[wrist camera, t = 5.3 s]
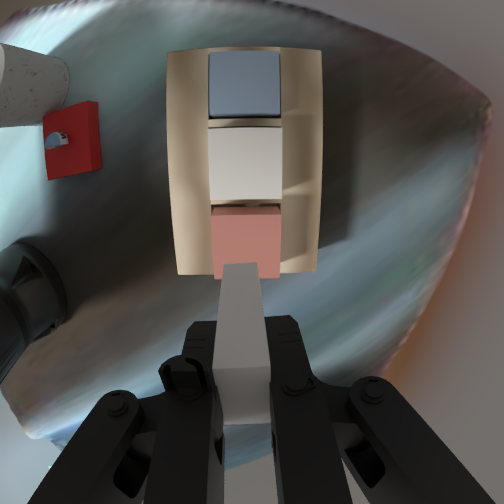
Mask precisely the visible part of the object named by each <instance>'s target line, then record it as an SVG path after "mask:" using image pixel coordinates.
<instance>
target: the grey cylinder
mask: <svg viewBox="0 0 504 504" xmlns="http://www.w3.org/2000/svg"><path fill="white" fill-rule="evenodd" d="M69 82H70V79H69V71H68V67H67V66H66V64H65V62H64V61H62V60H61V59H59V58H56V57H51V56H48V55H44V54H41V53H37V52H34V51H30V50H27V49H23V48H19V47H15V46H11V45H7V44H3V43H0V128H2V127H15V126H39V125H43V116H45V115H47V114H50V113H53V112H55V111H58V110H60V108H61V106H62V105H63V103H64V101H65V98H66V96H67V92H68V89H69Z"/></svg>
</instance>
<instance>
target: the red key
mask: <svg viewBox="0 0 504 504" xmlns="http://www.w3.org/2000/svg"><path fill="white" fill-rule="evenodd" d="M281 216H282V214H281V212H280V210H279V208H278V207H277V206H261V207H214V209H213V212H212V214H211V230H212V247H213V263H214V277H215V279H222V275H223V266H224V264H236V263H252V262H257V267H258V274H259V278H280V254H281Z"/></svg>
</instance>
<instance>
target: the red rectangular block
mask: <svg viewBox="0 0 504 504" xmlns="http://www.w3.org/2000/svg"><path fill="white" fill-rule="evenodd" d="M43 135H44V149H45V160H46V169H47V177H48V180H52V179H57V178H61V177H65V176H70V175H74V174H79V173H84V172H89V171H93V170H97V169H101V168H102V160H101V149H100V137H99V119H98V103H97V102H91V101H85V102H82V103H79V104H76V105H73V106H70V107H67V108H64V109H61V110H58V111H55V112H53V113H50V114H47V115H45V116H43Z"/></svg>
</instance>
